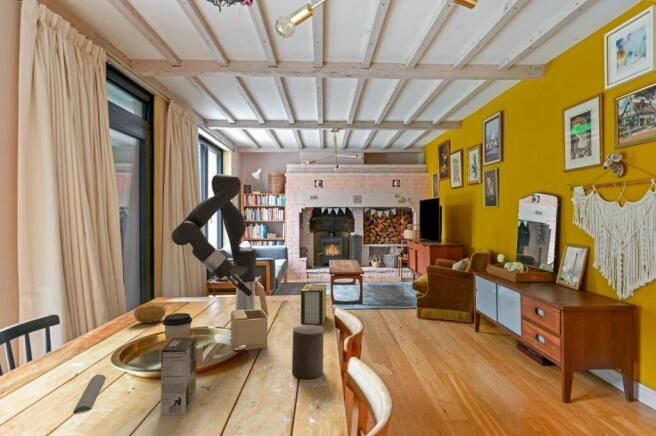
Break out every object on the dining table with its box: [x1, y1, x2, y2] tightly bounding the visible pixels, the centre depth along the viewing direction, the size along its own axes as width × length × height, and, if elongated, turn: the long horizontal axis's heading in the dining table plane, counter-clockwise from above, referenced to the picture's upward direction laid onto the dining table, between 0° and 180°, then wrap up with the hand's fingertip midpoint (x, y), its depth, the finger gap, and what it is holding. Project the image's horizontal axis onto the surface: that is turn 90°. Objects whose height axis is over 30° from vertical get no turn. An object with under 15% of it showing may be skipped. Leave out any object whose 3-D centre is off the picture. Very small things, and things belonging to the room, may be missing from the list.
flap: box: [256, 281, 269, 317], centre depth 140 cm, size 14×1×11 cm, turn 20°
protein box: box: [300, 284, 327, 325], centre depth 172 cm, size 10×15×16 cm
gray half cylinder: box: [73, 374, 107, 413], centre depth 98 cm, size 4×20×2 cm, turn 22°
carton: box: [230, 308, 268, 351], centre depth 138 cm, size 15×12×12 cm
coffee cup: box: [161, 312, 193, 346], centre depth 121 cm, size 9×9×15 cm
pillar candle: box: [291, 324, 325, 380], centre depth 112 cm, size 10×10×15 cm
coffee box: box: [160, 337, 197, 416], centre depth 92 cm, size 9×6×16 cm
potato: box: [133, 301, 167, 324], centre depth 165 cm, size 10×13×9 cm
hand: (250, 294), depth 138 cm, fingers closed
